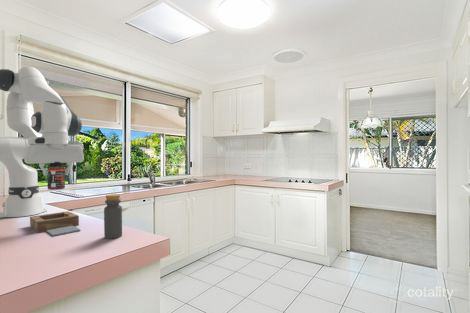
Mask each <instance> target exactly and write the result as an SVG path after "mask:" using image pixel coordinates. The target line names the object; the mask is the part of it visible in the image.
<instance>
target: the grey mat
mask: <svg viewBox="0 0 470 313" xmlns="http://www.w3.org/2000/svg"><path fill="white" fill-rule="evenodd" d="M80 231H81V229H80V228H78V227H77V226H67V227H62V228H56V229H51V230H47V231H46V233H48V234H49V235H50V236H51V237H57V236H58V237H59V236H62V235H67V234H72V233H77V232H80Z"/></svg>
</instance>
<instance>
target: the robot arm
mask: <svg viewBox="0 0 470 313" xmlns="http://www.w3.org/2000/svg"><path fill="white" fill-rule="evenodd" d="M0 90H1V91H3V92H7V93H8V92H9V94H7V98H6V107H5V108H6V121H7V122H6V123H7V127H9V129H11V131H14V132H16V133H18V134H20V135H22V136H1V137H0V162H1V163H2V164H3V165H4V166H5V168H6V169H7V172H8V178H9V179H8V180H9V187H8V191H7V192H8V193H7V194H8V197H6V199H4V201H3V202H2V208H3V211H1V213H0V218H21V217H29V216H30V217H31V216H36V215H40V214H42V213H44V212H48V209H47V208H44V199H43V195H42V194H40V193H39V192H40V187H39V183H38V179H39V178H38V176H39V175H38V170H37V169H36V168H34V167H33V166H30V165H29V164H31V165H32V164H38V167H39V168H40V169H41V170H42V176H43V175H44V176H47V175H48V170H47V169H45V164H50V163H54V162H60V163H62V164H65V163H66V166H67V167H66V168H65V175H67V174H70V169H71V168H72V166H73V163H82V162H84V161H85V156H84V155H85V154H84V143H83V142H81V141H78V140H77V141H75V140H69V137H75V136H76V135H78V134H79V133H80V132H81V131H82V128H83V126H82V125H83V123H82V120H81V118H80V117H79V116H78V115H77V114H76V113H75V112H74V111H73V109H71V107H70V105H69V104H68V103H67V101H66V100H65V98H64V97H63V96H62V95H61V94H60V93H58V92H57V91H55V89H53V88H52V87H51V84H50V81H49V79H48V78H46V77H45V76H44V75H43V74H42V72H40V70H39V69H37V68H35V67H33V66H23V67H21V68H20V69H19V70H10V69H9V68H8V69H6V68H2V69H0ZM34 104H38V105H42V108H41V110H39V111H36V112H35V109H34ZM23 161H24V162H23ZM27 164H28V165H27Z"/></svg>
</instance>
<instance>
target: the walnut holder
mask: <svg viewBox="0 0 470 313" xmlns="http://www.w3.org/2000/svg"><path fill="white" fill-rule="evenodd" d="M79 220H80V217H79V215H78V214H76V213H73V212H71V211H68V210H67V211H61V212H60V211H59V212H55V213H54V212H53V213H46V214H41V215H40V214H38V215H31V216H30V217H29V227H30V228H32V230H34V231H36V232H37V234H38V233H44V232H47V230H51V229H56V228H62V227H67V226H75V227H77V226H79V225H80V221H79Z"/></svg>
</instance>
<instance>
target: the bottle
mask: <svg viewBox="0 0 470 313" xmlns="http://www.w3.org/2000/svg"><path fill="white" fill-rule="evenodd" d="M120 196H121V194H120V193H119V194H117V193H112V194H111V193H110V194H107V195H105V198H106V200H105V201H104V203H105V204H106V206H105V207H104V208H103V223H104V225H103V227H104V230H103V231H104V233H103V234H104V235H103V236H104V239H106V240H113V239H118V238H121V237H122V236H123V206H122V205H120V203H121V202H122V200H121V199H120V198H121V197H120Z"/></svg>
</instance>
